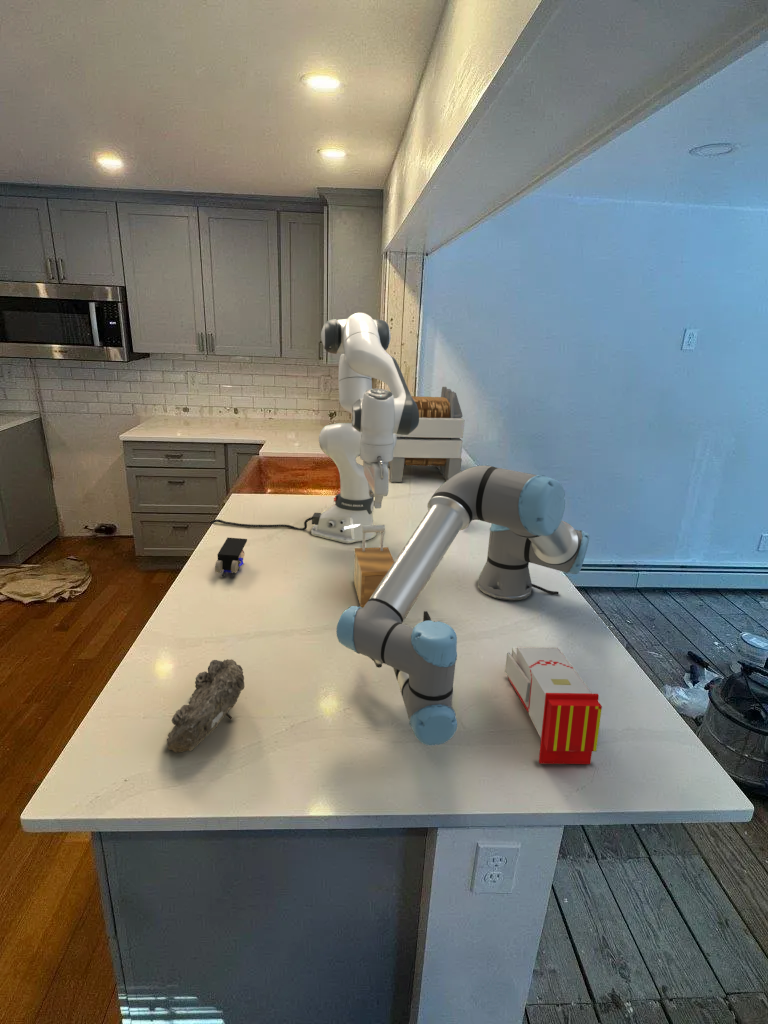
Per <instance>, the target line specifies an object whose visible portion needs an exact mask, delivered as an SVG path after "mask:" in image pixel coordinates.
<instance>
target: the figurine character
mask: <svg viewBox="0 0 768 1024" xmlns="http://www.w3.org/2000/svg"><path fill="white" fill-rule="evenodd" d="M247 542H248V538H240V537H226V539H225V541H224V543H223V544H222V546H221V547H220V549H219V551H218V552H217V560H216V562H215V564H214V572H215V573H221V577H222V578H224V577H225V576H226V574H227V573H230V574H231V573H232V574H231V578H234V577H235V575H236V573H237V572H239V571H240V567H242V566H243V565H244V564H245V562H244V558H245V551H244V547H245V546H246V544H247Z"/></svg>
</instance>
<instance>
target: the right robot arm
mask: <svg viewBox="0 0 768 1024" xmlns="http://www.w3.org/2000/svg"><path fill="white" fill-rule="evenodd" d="M565 508H566V492H565V488H564V485H563V484H562V483H561V482H560V481H559V480H557V479H555V478H553V477H550V476H547V475H544V474H533V473H528V472H522V471H517V470H513V469H507V468H502V467H495V466H492V465H477V466H472V467H468V468H466V469H464V470H461V472H460V473H458V474H456V475H454V476H453V477H451V478H450V479H449V480H447V481H446V480H445V482H444V483H442V484H441V485H440V486H439V487H438V488H437V489H436V490H435V492H433V495H432V496H431V497H430V499H429V500H428V502H427V512H426V513H425V515H424V517H423V518H422V519H421V521H420V523H419V524H418V526H417V527H416V528H415V530H414V531H413V533H412V535H411V536H410V537H409V539H408V540H407V542H406V543H405V545H404V547H403V548H402V549H401V551H400V553H399V554H398V555H397V557H396V559H395V560H394V563H393V565H392V566H391V568H390V569H389V571H388V572H387V574H386V575H385V577H384V578H383V580H382V581H381V583H380V584H379V586H378V587H377V589H376V590H375V592H374V593H373V595H372V596H371V598H370V599H369V600H368V602H367V603H366V604H365V606H364V607H363V608H362V607H360V606H357V605H351V606H349V607H348V608H347V609H345V610H344V611H343V612H342V613H341V615H340V616H339V619H338V621H337V625H336V638H337V640H338V642H339V644H341V646H344V647H345V648H347V649H350V650H351V651H353V652H355V653H356V654H359V655H360V654H361V655H363V656H366V657H368V658H369V659H371V660H372V662H373V663H374V665H375V667H376V668H379V669H380V668H382V667H383V665H387V666H389V667H391V668H392V669H393V671H394V675H395V678H396V681H397V684H398V687H399V690H400V694H401V697H402V700H403V703H404V706H405V711H406V714H407V717H408V720H409V723H408V724H409V726H410V727H411V729H412V732H413V734H414V736H415V738H416V739H417V740H418V742H419V743H421V744H423V745H425V746H431V747H432V746H440V745H443V744H445V743H447V742H449V741H450V740H451V739H452V738H453V737H454V736H455V734H456V731H457V729H458V721H457V717H456V715H457V714H456V712H455V710H454V709H453V693H454V680H455V673H456V672H455V670H456V663H457V659H458V651H457V649H458V637H457V632H456V631H455V629H454V628H453V627H452V626H450V625H449V624H447V623H445V622H443V621H439V620H437V621H435V620H432V618H431V616H430V614H429V612H428V611H427V610H426V611H425V610H424V611H423V618H422V621H421V622H418V623H417V624H415V626H414V627H413V626H411V625H407V624H405V623H404V621H405V619H406V617H407V616H408V615H409V613H410V611H411V609H412V608H413V606H414V604H415V603H416V602H417V600H418V598H419V597H420V595H421V593H422V592H423V590H424V589H425V587H426V586H427V584H428V582H429V580H430V579H431V578H432V576H433V574H434V572H435V571H436V570H437V567H438V566H439V564H440V563H441V561H442V560H443V558H444V556H445V555H446V553H447V551H448V550H449V548H450V547H451V545H452V544H453V542H454V540H455V539H456V538H457V535H458V534H459V532H460V531H464V530H466V529H467V528H468V527H469V525H470V524H471V522H472V521H481V522H484V523H488V524H490V527H489V536H488V537H489V538H488V546H487V556H486V561H485V564H484V566H483V568H482V570H481V572H480V574H479V576H478V579H477V588H478V590H479V591H480V592H482V593H483V594H485V595H486V596H488V597H491V598H494V599H497V600H502V601H520V600H524V599H528V598H529V597H530V596H531V595H532V591H533V588H534V589H537V590H539V591H542V592H543V593H546V594H550V595H559V591H556V590H555V591H554V590H549V589H547V588H543V587H542V586H539V585H536V584H534V583H532V579H531V573H530V569H529V565H530V564H534V565H537V566H540V567H545V568H548V569H552V570H556V571H557V572H558V571H559V572H562V573H565V574H571V575H578V574H580V572H581V570H582V567H583V564H584V561H585V557H586V555H587V550H588V547H589V543H590V538H591V536H590V534H589V532H587V531H584V530H583V529H575V528H574V527H573V526H572V525H571V524H570V523H568V522H567V521H564V520H563V517H564V513H565Z"/></svg>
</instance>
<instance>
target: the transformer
mask: <svg viewBox="0 0 768 1024" xmlns="http://www.w3.org/2000/svg"><path fill="white" fill-rule="evenodd" d="M440 393H441V394H440V396H415V395H414V396H413V395H411V396H412V398H413V400H414V401H415V403H416V404H417V407H418V411H419V424H418V426H417V427H416V428H415V429H414V430H413V431H412V432H411V433H410V434H408V435H401V434H396V437H397V441H396V446H395V448H394V450H393V460H392V461H389V462H388V466H387V467H388V468H389V480H390V482H391V483H402V482H403V475H404V469H405V466H406V467H407V466H411V467H412V466H413V467H415V466H416V467H417V466H418V467H436V468H437V470H438V469H439V473H440V474H441V475H443V478H444V479H445V482H446V481H447V480H449V479H450V478H451V477H453V476H454V475H456V474H458V473H460V472H461V471H462V461H463V460H462V453H463V442H464V441H463V440H462V439H463V438H464V431H465V430H464V429H465V419H464V418H463V411H462V408H461V405H460V402H459V398H458V395H457V392H455V391H453V390H452V389H451V388H447V386H442V387H441V392H440Z"/></svg>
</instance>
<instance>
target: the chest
mask: <svg viewBox="0 0 768 1024" xmlns="http://www.w3.org/2000/svg"><path fill="white" fill-rule="evenodd" d="M353 569H354V570H353V584H354V588H355V591H356V595H357V599H358V603H359V607H362V608H363V607H364V606H365V604H366V603H367V602H368V600H369V599H370V598H371V596H372V595H373V593H374V592H375V590H376V589H377V587H378V586H379V584H380V583H381V581H382V580H383V578H384V577H385V575H376V576H362V575H361V572H360V569H359V565H358V562H357V558H356V555H355V554H354V567H353Z"/></svg>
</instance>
